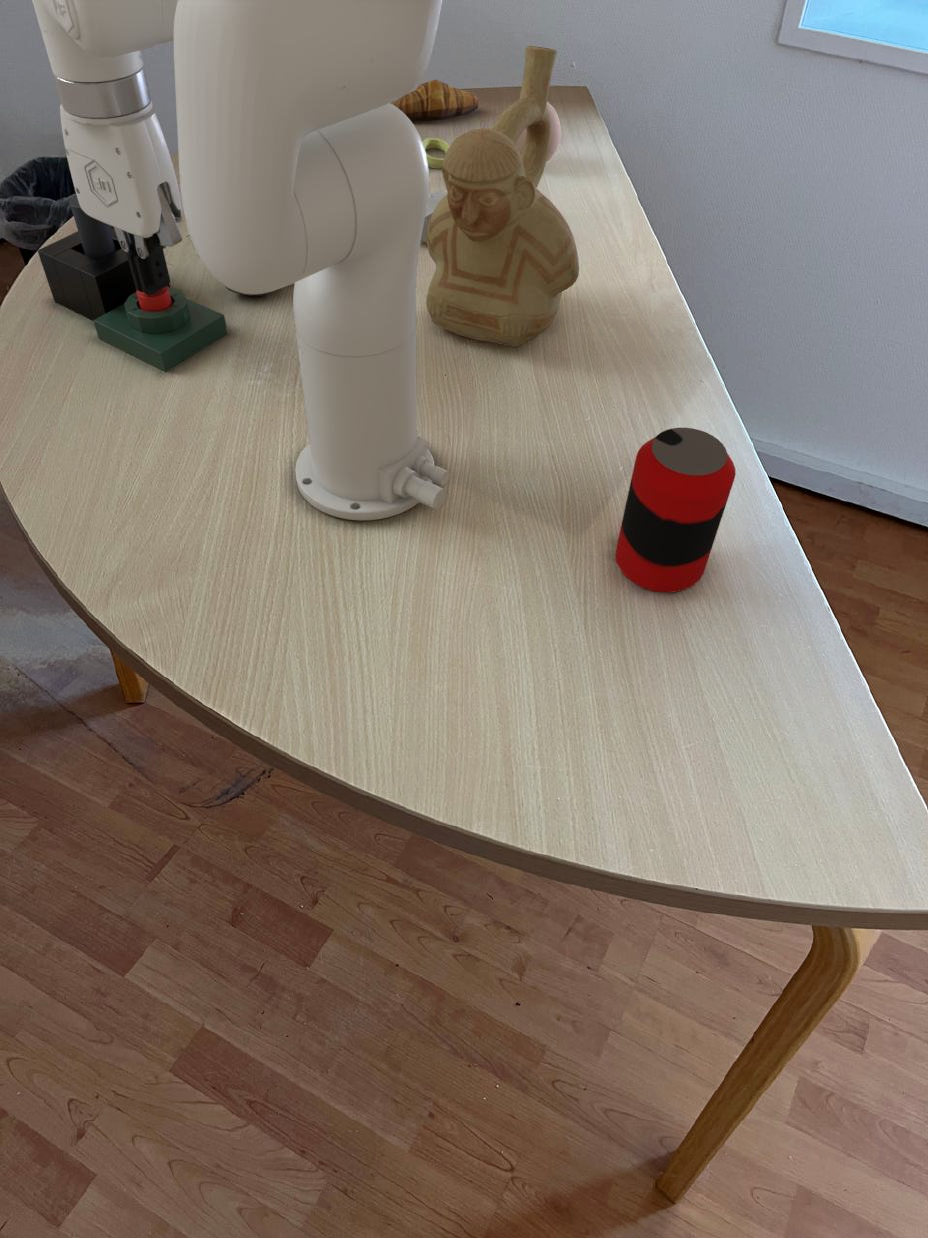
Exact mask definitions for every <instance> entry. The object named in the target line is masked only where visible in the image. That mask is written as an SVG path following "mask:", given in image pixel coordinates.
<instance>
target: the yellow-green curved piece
mask: <svg viewBox="0 0 928 1238" xmlns="http://www.w3.org/2000/svg"><path fill="white" fill-rule="evenodd" d="M422 142H423V145H424V149H425V152H426V156H427V162H428V168H432V169H441V165H442V164H443V163H444V158H445V157H442V158H441V157H440V158H439V157H434V156H431V155H429V154H428V152H427V150H428V149H438V150H441V151H443V152H444V153H446V152H447V150H448V149H449V147H450V145H451V144H449V143H448V142H447V141H445V140H443V139H441V138H437V137H428V138H424V139H423V140H422Z"/></svg>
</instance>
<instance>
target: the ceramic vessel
mask: <svg viewBox="0 0 928 1238" xmlns="http://www.w3.org/2000/svg"><path fill="white" fill-rule="evenodd" d="M557 54H558V52H557V49H554V48H548V47H542V46H534V45H526V47H525V54H524V67H523V76H522V82H521V88H520V93H519V99H518V100H517V101H515V102H513V103H512V104H511V105H510V106H509V107H508V108H506V109H505V111H503V112H502V113H501V114H500V115H499V117H498V118H497V120H496V122H495V123H494V124H493V126H492V127H491V128H488V127H481V128H475V129H474V128H473V129H471V130H468V131H466V132H463V133H462V134H461V135H459V136H457V137H456V138H455V139H454V140H453V141H452V142H451V144H449V145H450V147H449V149H448V150H447V152H445V154H444V157H443V158H444V163H443V164H442V165H441V168H440V169H441V172H442V178H443V181H444V185H445V189H446V191H447V192H446V193H447V195H445V196H444V197H443V198H442V199H441V200H440V202H439V203H438V205H437V207H436V208H435V210H434V212H433V214H432V217H431V219H430V222H429V227H428V232H427V243H426V246H427V251H428V254H429V256H430V258H431V259H432V261H433V263H434V264H435V270H434V274H433V276H432V278H431V281H430V283H429V286H428V290H427V294H426V302H425V304H426V310H427V313H428V315H429V316H430V318H431V321H432V323H434V324H435V325H436V326H438V327H439V328H442V329H444V330H447V331H449V332H451V333H453V334H456V335H458V336H462V337H464V338H468V339H473V340H477V341H483V342H489V343H494V344H498V345H499V344H500V345H505V346H508V347H511V348H519V347H521V346H522V344H524V343H526V342H529V341H531V340H533V339H535V338H537V337H538V336H539V335H541V334H542V333H544V332H545V331H546V330H547V329H548V328H549V327H550V325H552V323H553V321H554V319H555V318H556V315H557V313H558V310H559V308H560V303H561V299H562V294H563V292H564V291H566V290H568V289H569V288H571V287H572V286H573V285H574V284H575V283H576V282H577V280H578V278H579V276H580V263H579V254H578V248H577V245H576V241H575V238H574V234H573V232H572V230H571V228H570V225H569V224H568V222H567V220H566V219H565V217H564V215H563V213H562V212H561V211H560V210H559V209H558V208H557V207H556V205H554V203H553V201H551V200H550V199H549V198H548V197H547V196H545V195H544V194H543V193H542V192H541V191H540V190H539V189H538V187H539V184H540V182H541V180H542V177H543V175H544V172H545V168H546V164H547V162H546V160H547V155H548V151H549V146H550V133H551V123H550V114H549V110H548V108H547V102H548V97H549V92H550V87H551V80H552V74H553V69H554V66H555V62H556V57H557ZM525 128H526V130H527V134H526V143H525V147H524V151H523V154H522V157H521V155H520V152H519V150H518V148H517V147H516V146H515V145H516V143H517V141H518V139H519V137H520V135H521V134H522V132H523V131H524V129H525Z"/></svg>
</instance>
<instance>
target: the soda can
mask: <svg viewBox="0 0 928 1238" xmlns="http://www.w3.org/2000/svg"><path fill="white" fill-rule="evenodd" d="M735 477H736V466H735V464H734V461H733V460H732V458H731V457H730V455H729V453H728V451H727V449H726V447H725V445H724V444H723V443H722V442H721V441H720V440H719V439H718V438H717V437H715V436H714V435H712V434H711V433H708V432H706V431H704V430H701V429H697V428H693V427H673V428H669V429H665V430H663V431H661V432H660V433H658V434H657V435H656V436H654V437H652V438H651V439H649V440H647V441H646V442H644V443H643V444H642V445H641V447H640V448H639V449H638V450H637V453H636V456H635V459H634V465H633V469H632V474H631V479H630V483H629V488H628V491H627V498H626V502H625V506H624V511H623V516H622V520H621V525H620V529H619V533H618V539H617V542H616V548H615V554H614V555H615V556H614V557H615V562H616V564H617V566H618V568H619V570H620V571H621V573H622V574H623V575H624V576H625V578H627V579H629V581H630V582H632V583H633V584H635V585H637V586H638V587H641V588H642V589H645V590H648V591H651V592H655V593H675V592H676V593H677V592H681V591H683V590H687V589H689V588H691V587H692V586H693V587H694V585H696V584H697V583H698V582H699V581H700V580H701V579H702V577H703V575H704V573H705V570H706V568H707V565H708V561H709V558H710V555H711V552H712V549H713V546H714V543H715V540H716V536H717V534H718V530H719V528H720V524H721V522H722V518H723V515H724V512H725V510H726V506H727V503H728V501H729V497H730V494H731V491H732V488H733V485H734V482H735V479H736V478H735Z"/></svg>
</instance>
